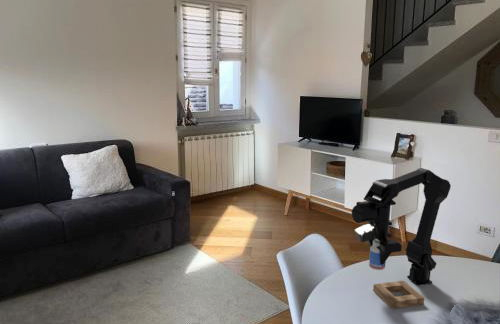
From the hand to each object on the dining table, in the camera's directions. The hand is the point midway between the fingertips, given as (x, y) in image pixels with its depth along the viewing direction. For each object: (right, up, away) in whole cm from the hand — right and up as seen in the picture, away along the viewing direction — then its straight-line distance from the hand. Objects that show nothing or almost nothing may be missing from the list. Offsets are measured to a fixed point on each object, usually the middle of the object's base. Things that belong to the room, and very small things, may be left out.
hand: (377, 260), depth 151 cm
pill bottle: (0, -3, +1) cm, 3 cm away
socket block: (+7, -13, -1) cm, 14 cm away
